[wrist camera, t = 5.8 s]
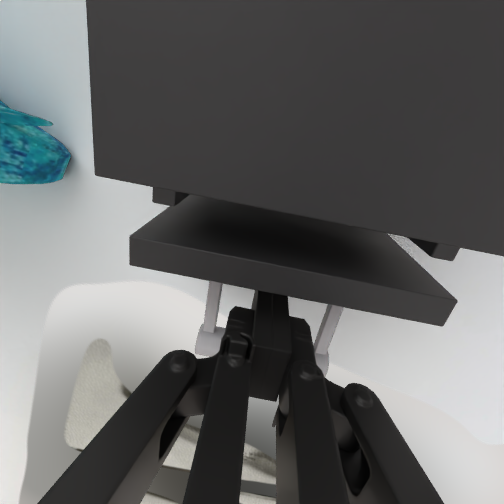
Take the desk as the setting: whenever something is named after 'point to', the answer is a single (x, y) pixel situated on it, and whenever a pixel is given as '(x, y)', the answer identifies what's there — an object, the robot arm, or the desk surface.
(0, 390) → the desk surface
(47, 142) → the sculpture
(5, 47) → the desk surface
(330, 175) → the cabinet
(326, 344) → the drawer
